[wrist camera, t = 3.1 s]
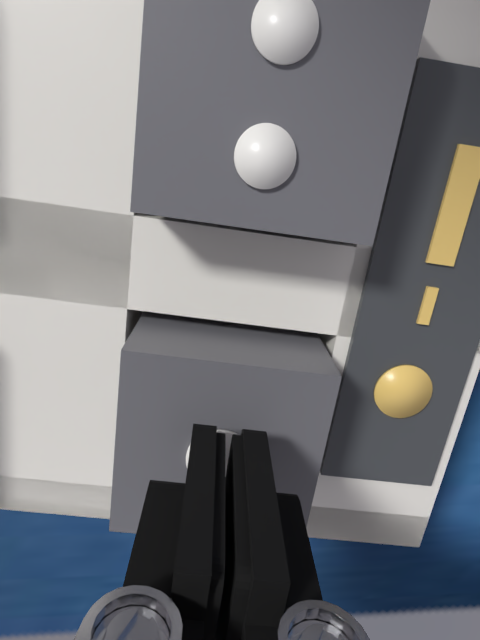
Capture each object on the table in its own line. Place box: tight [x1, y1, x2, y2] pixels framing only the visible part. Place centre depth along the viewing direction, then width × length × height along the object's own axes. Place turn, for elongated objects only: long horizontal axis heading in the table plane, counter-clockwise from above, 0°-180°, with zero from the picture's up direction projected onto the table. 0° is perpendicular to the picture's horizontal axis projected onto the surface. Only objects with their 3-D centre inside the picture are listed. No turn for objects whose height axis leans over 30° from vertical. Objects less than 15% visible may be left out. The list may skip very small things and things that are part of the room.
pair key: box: [130, 0, 431, 246], centre depth 10 cm, size 5×5×3 cm
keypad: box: [0, 0, 480, 547], centre depth 13 cm, size 16×24×4 cm, turn 82°
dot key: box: [109, 311, 342, 533], centre depth 12 cm, size 5×5×3 cm
